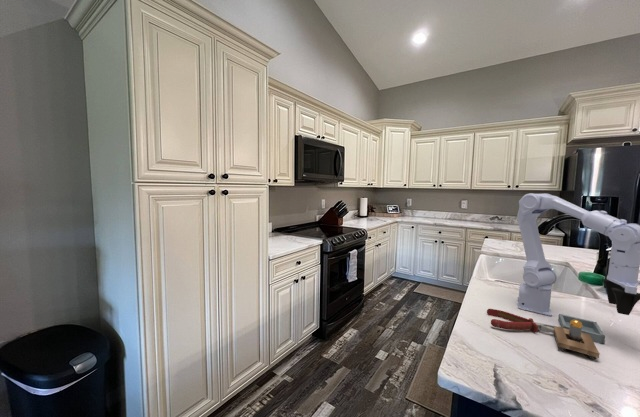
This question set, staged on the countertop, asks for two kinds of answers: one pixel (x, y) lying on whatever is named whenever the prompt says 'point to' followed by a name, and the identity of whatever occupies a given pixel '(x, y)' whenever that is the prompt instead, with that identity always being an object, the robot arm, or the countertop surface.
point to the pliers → (517, 322)
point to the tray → (584, 327)
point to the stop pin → (575, 330)
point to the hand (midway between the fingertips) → (618, 308)
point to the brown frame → (576, 343)
